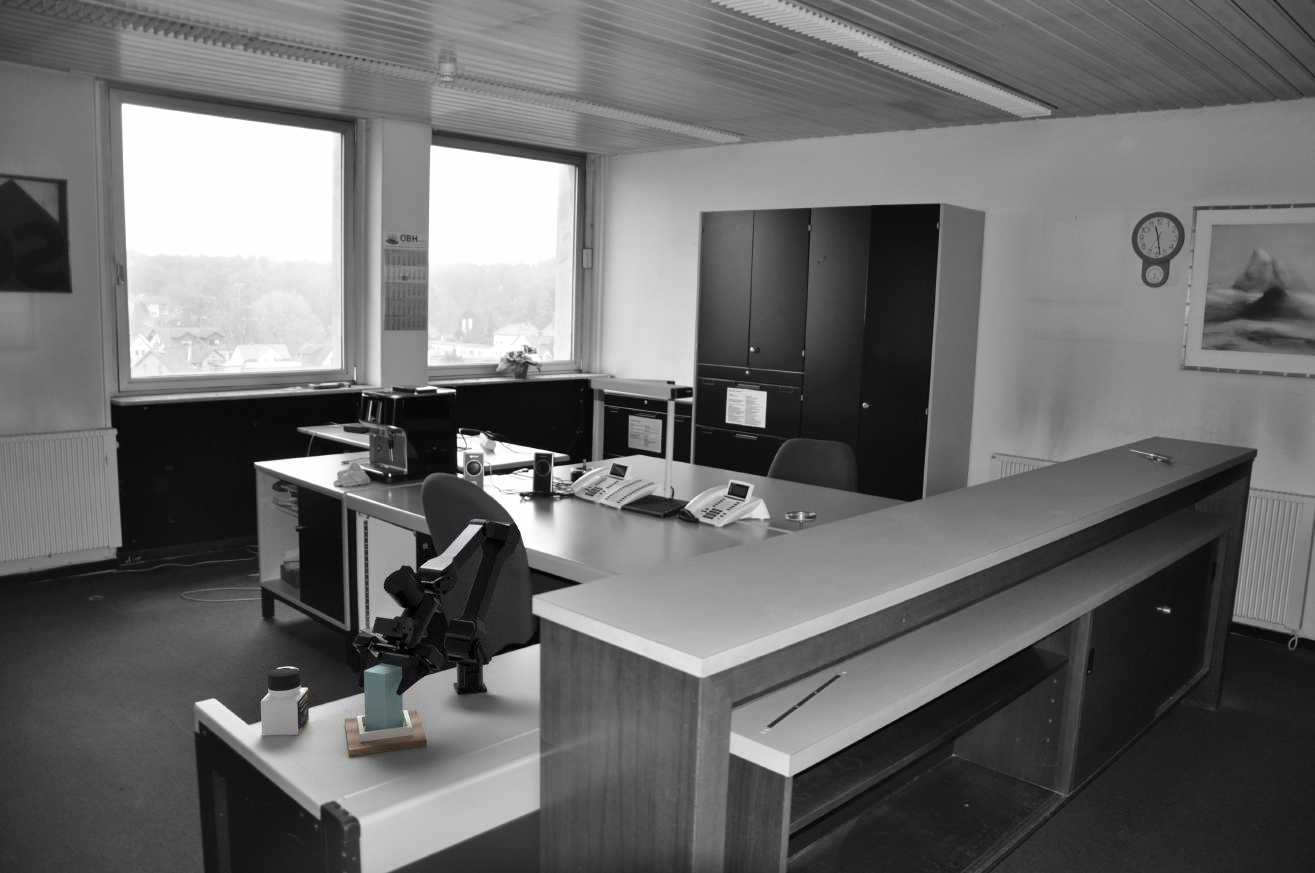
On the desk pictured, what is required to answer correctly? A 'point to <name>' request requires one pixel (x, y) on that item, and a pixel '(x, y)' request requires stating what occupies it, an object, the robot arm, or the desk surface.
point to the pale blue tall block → (383, 697)
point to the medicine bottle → (284, 703)
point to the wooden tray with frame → (384, 735)
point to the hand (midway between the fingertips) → (378, 690)
